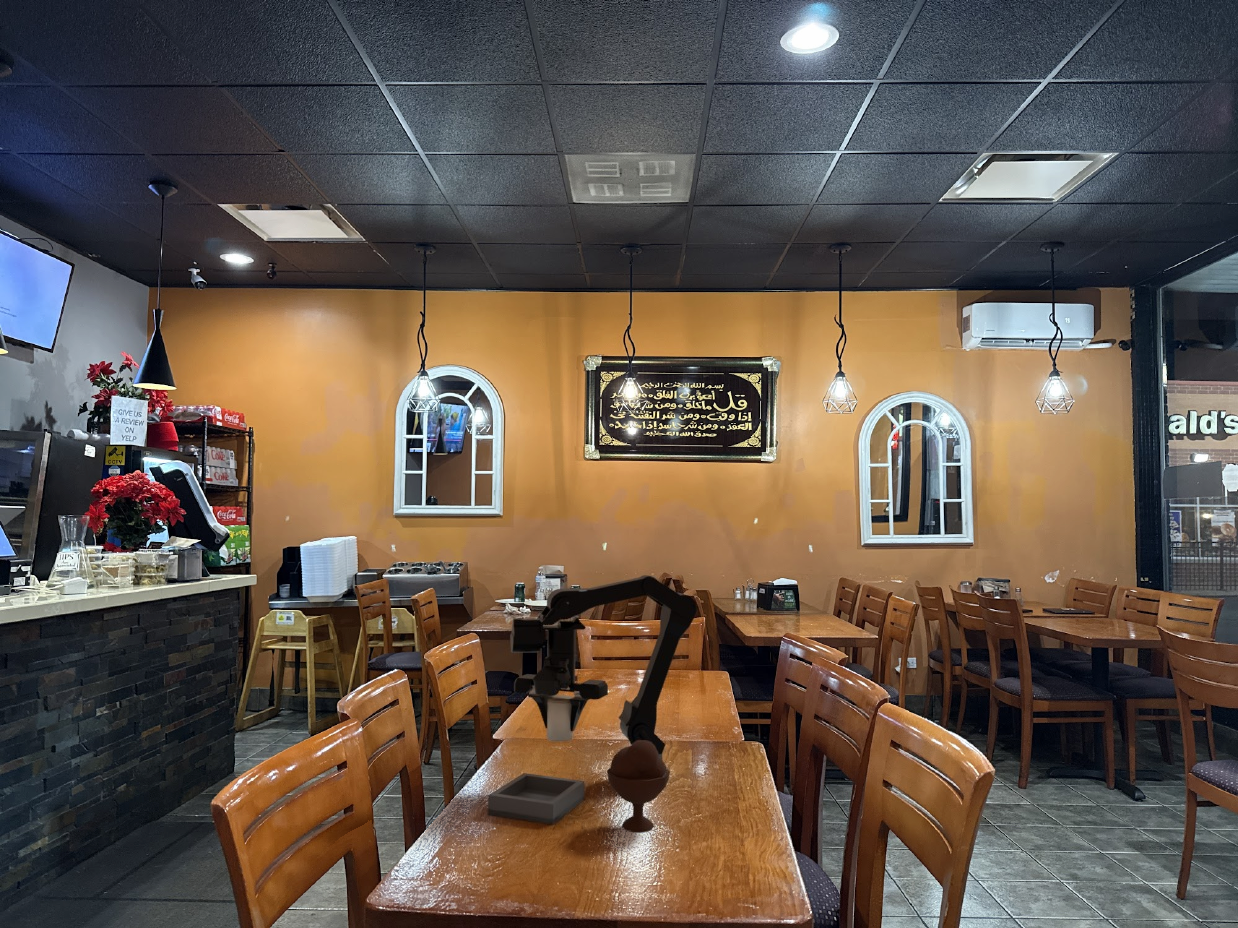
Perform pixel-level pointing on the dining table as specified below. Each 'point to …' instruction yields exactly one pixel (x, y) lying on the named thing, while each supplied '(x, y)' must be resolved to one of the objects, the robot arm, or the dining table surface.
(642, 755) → the ice cream bowl
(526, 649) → the robot arm
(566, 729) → the cream jar
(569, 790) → the serving tray
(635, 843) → the dining table surface
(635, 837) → the dining table surface
